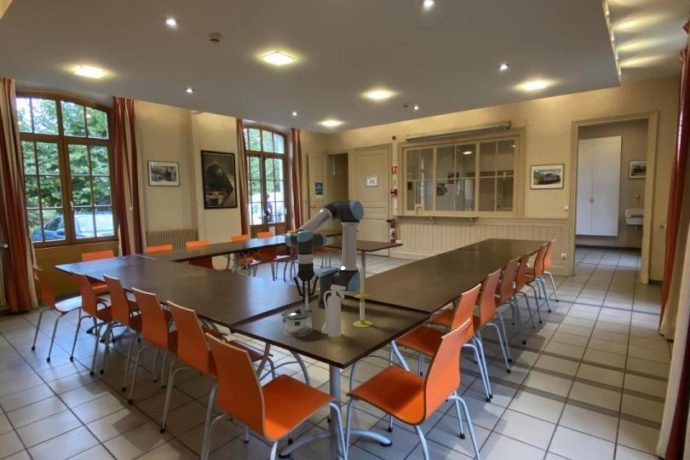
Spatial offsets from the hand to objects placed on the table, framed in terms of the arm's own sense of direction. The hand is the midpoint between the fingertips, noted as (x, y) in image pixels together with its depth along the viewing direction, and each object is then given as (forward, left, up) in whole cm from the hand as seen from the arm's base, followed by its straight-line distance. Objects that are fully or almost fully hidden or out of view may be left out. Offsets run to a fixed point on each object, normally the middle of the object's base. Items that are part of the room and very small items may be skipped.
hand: (307, 309), depth 178 cm
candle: (-28, -7, -12) cm, 32 cm away
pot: (+4, 0, -11) cm, 12 cm away
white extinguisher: (-12, +7, -12) cm, 18 cm away
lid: (+5, 0, -2) cm, 5 cm away
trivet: (+4, 0, -11) cm, 12 cm away
